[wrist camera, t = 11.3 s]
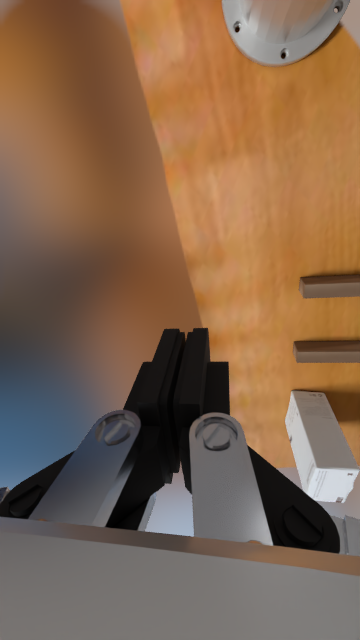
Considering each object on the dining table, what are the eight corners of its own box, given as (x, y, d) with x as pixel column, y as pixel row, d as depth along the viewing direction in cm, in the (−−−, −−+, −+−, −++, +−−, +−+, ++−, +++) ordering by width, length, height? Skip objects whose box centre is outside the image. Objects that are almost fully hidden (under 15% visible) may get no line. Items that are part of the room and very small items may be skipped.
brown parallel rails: (300, 277, 41) (305, 284, 38) (383, 273, 39) (395, 280, 36) (292, 351, 47) (296, 362, 44) (365, 351, 45) (373, 362, 42)
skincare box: (290, 389, 51) (314, 465, 38) (326, 391, 50) (362, 470, 37) (284, 422, 54) (303, 501, 41) (317, 425, 54) (346, 506, 41)
